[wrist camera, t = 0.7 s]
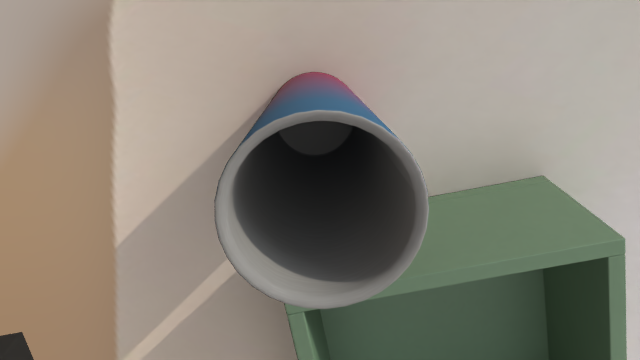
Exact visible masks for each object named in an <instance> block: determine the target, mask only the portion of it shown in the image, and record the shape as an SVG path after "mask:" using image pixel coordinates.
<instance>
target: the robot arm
mask: <svg viewBox="0 0 640 360" xmlns="http://www.w3.org/2000/svg"><path fill="white" fill-rule="evenodd" d="M0 360H34V359H33V357H32V355H31V352H30V350H29V348H28V345H27V343H26V341H25V338H24V336H23V333H22V332H19V333H14V334H8V335H3V336H0Z"/></svg>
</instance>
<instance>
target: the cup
mask: <svg viewBox="0 0 640 360" xmlns="http://www.w3.org/2000/svg"><path fill="white" fill-rule="evenodd" d="M428 214H429V204H428V192H427V188H426V184H425V181H424V178H423V174H422V171H421V170H420V168H419V166H418V164H417V162H416V161H415V159H414V157H413V155H412V154H411V152H410V151H409V150H408V149H407V148H406V147H405V146H404V144H403V143H402V142H401V141H400V140H399V139H398V138H397V137H396V136H395V135H394V134H393V133H392V131H391V130H390V129H389V128H388V127H387V126H386V125H385V124H384V123H383V122H382V121H381V120H380V119H379V118H378V117H377V116H376V115H375V114H374V113H373V112H372V111H371V110H370V109H369V108H368V107H367V106H366V105H365V104H364V103H363V102H362V101H361V100H360V99H359V98H358V97H357V96H356V95H355V94H354V93H353V92H352V91H351V90H350V89H349V88H348V87H347V86H346V85H345V84H344V83H343V82H341V81H340V80H339V79H337V78H335V77H333V76H331V75H329V74H325V73H319V72H310V73H304V74H301V75H298V76H295V77H294V78H292V79H290V80H289V81H287V82H286V83H285V84H284V85H283V86H282V87H281V88H280V90H279V91H278V92H277V94H276V95H275V97H274V98H273V99H272V101H271V102H270V104H269V105H268V106H267V108H266V109H265V111H264V112H263V113H262V115H261V116H260V117H259V119H258V120H257V122H256V123H255V124H254V126H253V127H252V129H251V130H250V131H249V133H248V134H247V136H246V137H245V138H244V140H243V141H242V143H241V144H240V145H239V147H238V148H237V150H236V151H235V152H234V154H233V155H232V156H231V158H230V159H229V161H228V162H227V164H226V166H225V168H224V171H223V173H222V175H221V177H220V180H219V183H218V187H217V192H216V197H215V224H216V229H217V233H218V238H219V241H220V243H221V245H222V247H223V250H224V252H225V254H226V256H227V258H228V259H229V261H230V262H231V264H232V265H233V266H234V268H235V269H236V271H237V272H238V273H239V274H240V275H241V276H242V277H243V278H244V279H245V280H246V281H247V282H248V283H249V284H250V285H252V286H253V287H254V288H256V289H257V290H259V291H261V292H262V293H264V294H265V295H267V296H268V297H271V298H273V299H276V300H278V301H280V302H283V303H285V304H289V305H293V306H298V307H303V308H312V309H330V308H337V307H344V306H348V305H352V304H355V303H358V302H361V301H364V300H366V299H368V298H370V297H372V296H374V295H376V294H378V293H380V292H381V291H383V290H384V289H385V288H387V287H388V286H389V285H391V284H392V283H393V282H394V281H396V280H397V279H398V278H399V277H400V276H401V275H402V273H403V272H404V271H405V270H406V269H407V268H408V267H409V266H410V264H411V263H412V261H413V259H414V257H415V256H416V254H417V252H418V251H419V249H420V247H421V244H422V241H423V238H424V235H425V232H426V230H427V222H428Z"/></svg>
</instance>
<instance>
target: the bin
mask: <svg viewBox="0 0 640 360" xmlns="http://www.w3.org/2000/svg"><path fill="white" fill-rule="evenodd" d="M428 204H429V214H428V222H427V230H426V232H425V235H424V238H423V241H422V244H421V247H420V249H419V251H418V252H417V254H416V256H415V257H414V259H413V261H412V263H411V264H410V266H409V267H408V268H407V269H406V270H405V271H404V272H403V273H402V275H401V276H400V277H399V278H398V279H397V280H396V281H394V282H393V283H392V284H391V285H389V286H388V287H387V288H385V289H384V290H383V291H381V292H380V293H378V294H376V295H374V296H372V297H370V298H368V299H366V300H364V301H361V302H358V303H355V304H352V305H348V306H344V307H337V308H330V309H312V308H303V307H298V306H293V305H289V304H285V303H284V305H285V309H286V313H287V317H288V321H289V325H290V329H291V333H292V338H293V342H294V346H295V350H296V354H297V358H298V360H627V354H626V279H625V238H624V237H622V236H621V235H620V234H619V233H617V232H616V231H615V230H613V229H612V228H611V227H609V226H608V225H607V224H606V223H604V222H603V221H602V220H600V219H599V218H598V217H596V216H595V215H594V214H593V213H591V212H590V211H589V210H587V209H586V208H585V207H583V206H582V205H581V204H580V203H578V202H577V201H576V200H574V199H573V198H572V197H570V196H569V195H568V194H567V193H565V192H564V191H563V190H561V189H560V188H559V187H557V186H556V185H555V184H553V183H552V182H551V181H550V180H548V179H547V178H546V177H544V176H539V177H534V178H529V179H523V180H518V181H513V182H507V183H502V184H497V185H491V186H486V187H480V188H475V189H470V190H464V191H459V192H454V193H448V194H443V195H437V196H432V197H428Z"/></svg>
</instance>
